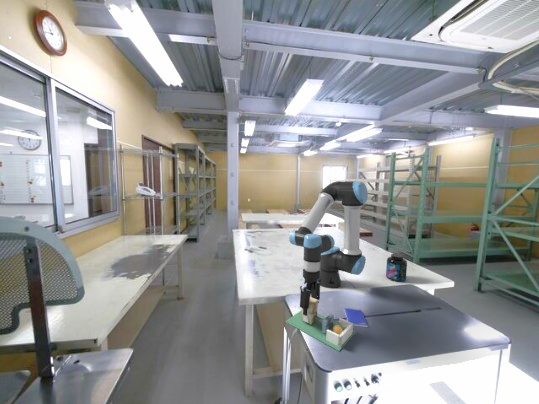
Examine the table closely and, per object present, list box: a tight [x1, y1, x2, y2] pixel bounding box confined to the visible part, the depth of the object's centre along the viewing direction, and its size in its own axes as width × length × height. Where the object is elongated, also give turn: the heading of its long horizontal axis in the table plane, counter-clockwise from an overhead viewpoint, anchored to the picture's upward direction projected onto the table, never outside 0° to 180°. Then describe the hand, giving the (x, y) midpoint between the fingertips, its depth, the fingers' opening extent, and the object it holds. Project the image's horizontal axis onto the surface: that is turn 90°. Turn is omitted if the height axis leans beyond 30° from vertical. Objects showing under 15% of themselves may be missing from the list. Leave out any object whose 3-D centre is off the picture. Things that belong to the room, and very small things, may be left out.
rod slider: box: [301, 296, 335, 333], centre depth 102 cm, size 7×12×10 cm, turn 47°
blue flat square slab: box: [344, 307, 369, 328], centre depth 108 cm, size 2×8×12 cm
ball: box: [333, 325, 343, 335], centre depth 95 cm, size 4×4×4 cm
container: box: [385, 253, 408, 283], centre depth 155 cm, size 12×12×17 cm
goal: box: [326, 317, 355, 347], centre depth 95 cm, size 12×6×4 cm, turn 137°
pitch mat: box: [284, 309, 357, 352], centre depth 101 cm, size 16×26×1 cm, turn 47°
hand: (309, 318), depth 105 cm, fingers closed on rod slider, 5 cm apart
